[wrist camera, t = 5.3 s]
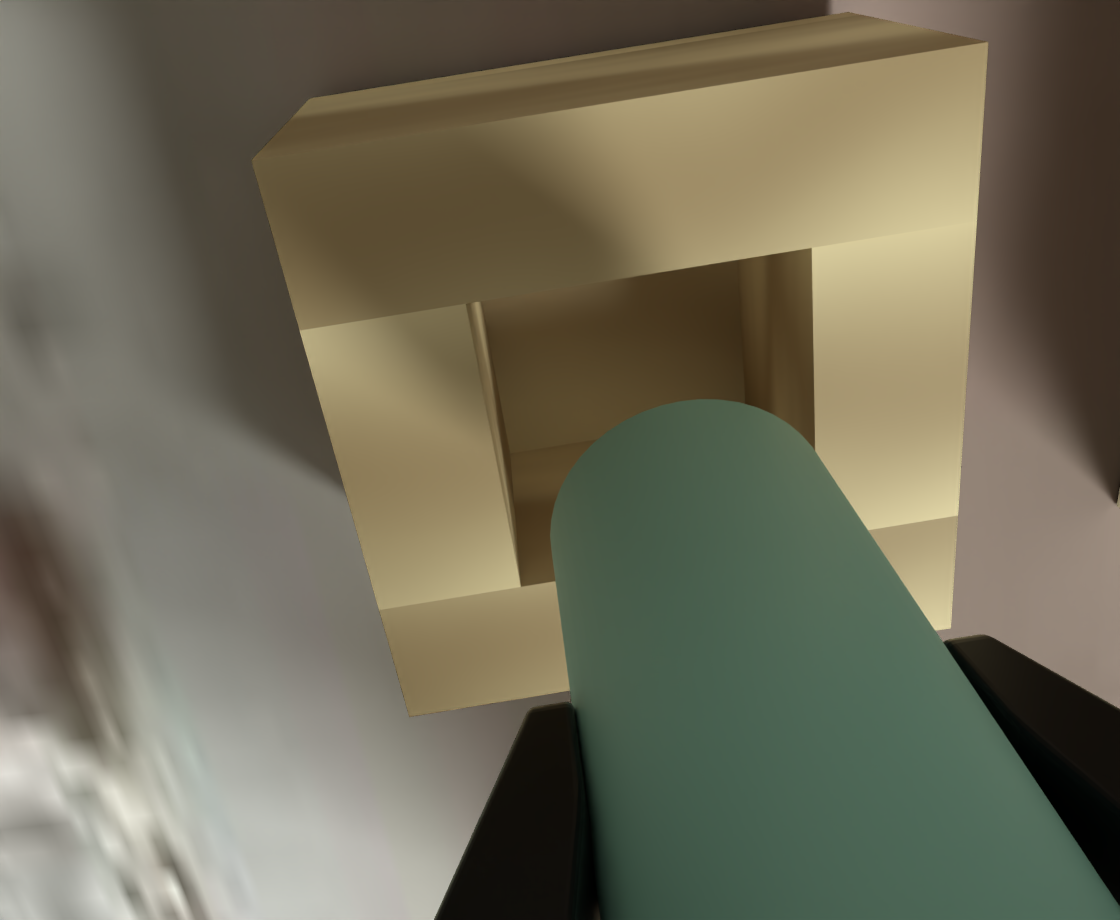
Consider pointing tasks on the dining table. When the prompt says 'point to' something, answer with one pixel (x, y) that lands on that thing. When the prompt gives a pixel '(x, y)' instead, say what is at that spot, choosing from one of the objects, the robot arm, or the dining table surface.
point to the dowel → (779, 699)
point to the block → (628, 301)
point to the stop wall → (1118, 500)
